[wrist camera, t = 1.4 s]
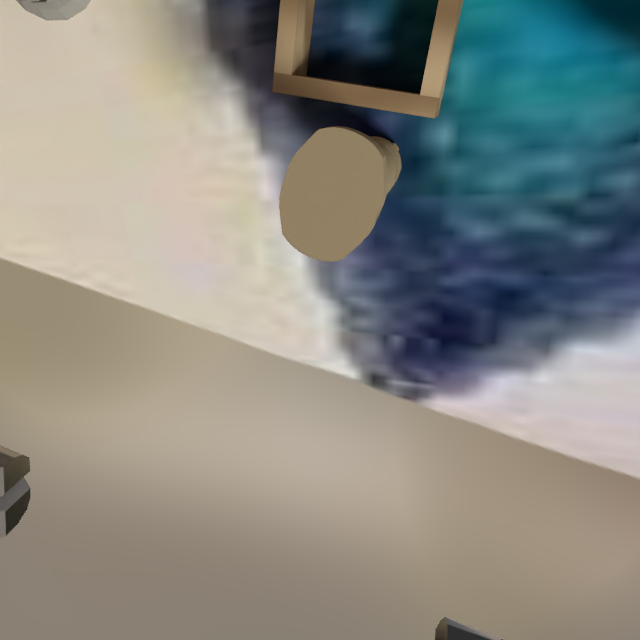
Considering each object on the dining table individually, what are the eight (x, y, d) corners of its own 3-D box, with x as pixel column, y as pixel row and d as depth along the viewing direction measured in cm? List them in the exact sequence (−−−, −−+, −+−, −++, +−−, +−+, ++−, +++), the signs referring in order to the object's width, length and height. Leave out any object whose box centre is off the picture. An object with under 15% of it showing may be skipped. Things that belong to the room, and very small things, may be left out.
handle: (335, 188, 41) (265, 236, 27) (367, 103, 38) (306, 111, 25) (393, 213, 40) (351, 275, 27) (430, 129, 37) (403, 153, 24)
